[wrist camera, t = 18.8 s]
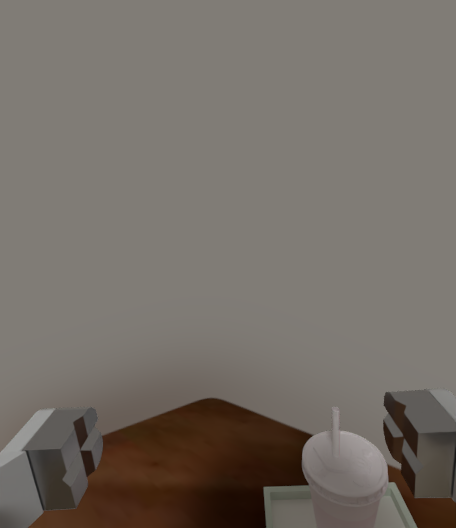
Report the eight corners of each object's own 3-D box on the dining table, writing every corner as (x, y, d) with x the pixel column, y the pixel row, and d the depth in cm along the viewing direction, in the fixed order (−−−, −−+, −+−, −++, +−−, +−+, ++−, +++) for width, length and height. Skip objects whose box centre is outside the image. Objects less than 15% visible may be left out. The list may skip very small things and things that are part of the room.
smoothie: (318, 503, 33) (314, 378, 29) (390, 535, 29) (396, 398, 26) (294, 568, 27) (286, 425, 24) (378, 617, 24) (383, 458, 20)
